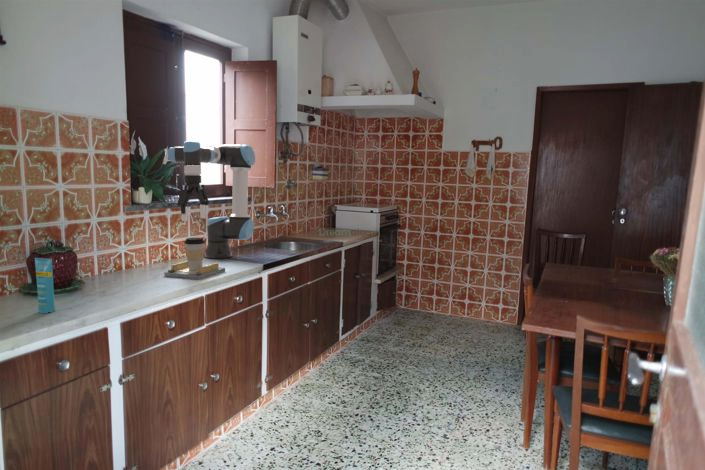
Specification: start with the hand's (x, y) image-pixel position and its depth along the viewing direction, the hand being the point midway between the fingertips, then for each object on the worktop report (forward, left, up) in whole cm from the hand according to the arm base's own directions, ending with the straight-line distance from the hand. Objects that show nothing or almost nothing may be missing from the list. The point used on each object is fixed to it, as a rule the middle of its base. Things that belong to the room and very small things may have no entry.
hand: (194, 219), depth 233 cm
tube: (+73, -7, -27) cm, 78 cm away
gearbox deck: (+1, 0, -27) cm, 27 cm away
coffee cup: (+1, 0, -24) cm, 24 cm away
